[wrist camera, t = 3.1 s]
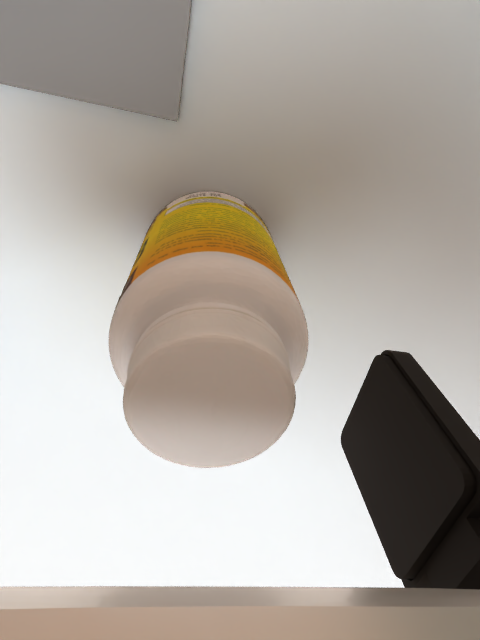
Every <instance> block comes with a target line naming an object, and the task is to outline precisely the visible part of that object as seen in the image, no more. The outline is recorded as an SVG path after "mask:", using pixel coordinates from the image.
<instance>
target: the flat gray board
mask: <svg viewBox="0 0 480 640" xmlns="http://www.w3.org/2000/svg"><path fill="white" fill-rule="evenodd" d="M191 1H192V0H0V84H5V85H9V86H14V87H19V88H23V89H28V90H33V91H37V92H42V93H47V94H51V95H56V96H61V97H65V98H70V99H75V100H79V101H84V102H89V103H93V104H98V105H103V106H108V107H112V108H117V109H122V110H126V111H131V112H136V113H140V114H145V115H150V116H154V117H159V118H164V119H168V120H173V121H178V115H179V106H180V98H181V89H182V80H183V71H184V63H185V54H186V45H187V36H188V28H189V19H190V10H191Z"/></svg>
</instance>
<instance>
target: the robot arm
mask: <svg viewBox="0 0 480 640" xmlns="http://www.w3.org/2000/svg"><path fill="white" fill-rule="evenodd" d="M341 445H342V448H343V450H344V453H345V455H346V458H347V460H348V463H349V465H350V467H351V470H352V472H353V475H354V477H355V480H356V482H357V485H358V487H359V489H360V492H361V494H362V497H363V499H364V502H365V504H366V507H367V509H368V511H369V514H370V516H371V519H372V521H373V524H374V526H375V529H376V531H377V534H378V536H379V538H380V541H381V543H382V546H383V548H384V551H385V553H386V556H387V558H388V560H389V563H390V565H391V568H392V570H393V572H394V574H395V575H396V576H397V577H398V578H400V579H402V582H403V584H404V587H405V588H358V587H133V586H85V587H0V640H480V440H479V439H478V438H477V436H476V435H475V434H474V433H473V431H472V430H471V429H470V428H469V426H468V425H467V424H466V423H465V421H464V420H463V419H462V418H461V416H460V415H459V414H458V413H457V411H456V410H455V409H454V408H453V406H452V405H451V404H450V403H449V401H448V400H447V399H446V398H445V396H444V395H443V394H442V393H441V391H440V390H439V389H438V388H437V386H436V385H435V384H434V383H433V381H432V380H431V379H430V378H429V376H428V375H427V374H426V373H425V371H424V370H423V369H422V368H421V366H420V365H419V364H418V363H417V361H416V360H415V359H414V358H413V356H412V355H411V354H409V353H407V352H399V351H391V350H385V351H383V352H382V353H381V355H377V356H376V357H375V358H374V360H373V362H372V364H371V366H370V369H369V371H368V373H367V376H366V378H365V380H364V383H363V385H362V387H361V389H360V392H359V394H358V396H357V399H356V401H355V403H354V405H353V408H352V410H351V412H350V415H349V417H348V419H347V421H346V424H345V426H344V428H343V431H342V434H341Z"/></svg>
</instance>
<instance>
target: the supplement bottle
mask: <svg viewBox="0 0 480 640" xmlns="http://www.w3.org/2000/svg"><path fill="white" fill-rule="evenodd" d="M307 351H308V330H307V323H306V319H305V316H304V313H303V310H302V307H301V305H300V302H299V300H298V298H297V296H296V293H295V291H294V289H293V287H292V284H291V282H290V280H289V277H288V275H287V273H286V270H285V268H284V266H283V263H282V261H281V259H280V256H279V254H278V252H277V249H276V247H275V245H274V242H273V240H272V238H271V235H270V233H269V231H268V229H267V227H266V225H265V223H264V222H263V220H262V219H261V218H260V216H259V215H258V214H257V213H256V212H255V211H254V210H253V209H252V208H251V207H250V206H249V205H247V204H246V203H245V202H243V201H241V200H240V199H238V198H235V197H233V196H231V195H228V194H224V193H219V192H208V191H207V192H196V193H192V194H188V195H185V196H183V197H180V198H178V199H176V200H175V201H173V202H171V203H170V204H169V205H167V206H166V207H165V208H164V209H163V210H162V211H161V212H160V213H159V214H158V215H157V216H156V217H155V219H154V220H153V222H152V224H151V226H150V227H149V229H148V231H147V234H146V236H145V238H144V241H143V243H142V246H141V248H140V251H139V253H138V255H137V258H136V260H135V263H134V265H133V268H132V270H131V273H130V275H129V278H128V280H127V282H126V284H125V286H124V289H123V291H122V294H121V296H120V298H119V300H118V303H117V306H116V308H115V311H114V314H113V317H112V321H111V325H110V331H109V352H110V357H111V361H112V365H113V368H114V370H115V372H116V375H117V377H118V379H119V380H120V382H121V384H122V385H123V386H124V395H123V409H124V414H125V419H126V421H127V424H128V426H129V428H130V430H131V431H132V433H133V434H134V436H135V437H136V438H137V440H138V441H139V442H140V443H141V444H142V445H143V446H145V447H146V448H147V449H148V450H150V451H151V452H152V453H154V454H156V455H158V456H160V457H162V458H163V459H165V460H168V461H170V462H173V463H176V464H180V465H185V466H190V467H200V468H211V467H223V466H229V465H233V464H237V463H240V462H243V461H246V460H249V459H251V458H253V457H255V456H257V455H259V454H260V453H262V452H263V451H265V450H267V449H268V448H269V447H270V446H272V445H273V444H274V443H275V442H276V441H277V440H278V439H279V438H280V437H281V435H282V434H283V433H284V431H285V430H286V429H287V427H288V425H289V423H290V421H291V419H292V416H293V413H294V408H295V400H296V395H295V386H294V384H295V382H296V381H297V379H298V377H299V375H300V373H301V371H302V369H303V366H304V364H305V360H306V356H307Z"/></svg>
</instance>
